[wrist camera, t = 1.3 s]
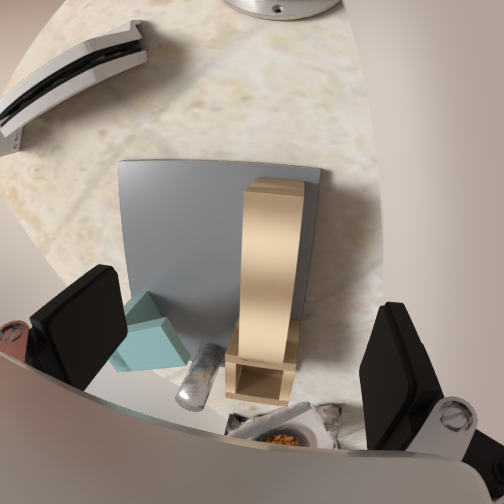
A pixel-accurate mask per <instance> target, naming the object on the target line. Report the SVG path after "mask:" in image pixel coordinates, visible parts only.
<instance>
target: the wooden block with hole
mask: <svg viewBox="0 0 504 504" xmlns="http://www.w3.org/2000/svg"><path fill="white" fill-rule="evenodd" d="M303 201H304V181H300V180H290V179H280V178H268V177H258V178H257V179H256V180H255V181H254V182H253V183H252V184H251V185H250V186H249V187H248V188H247V189H246V190H245V191H244V204H243V230H242V257H241V286H240V315H239V318H238V321H237V323H236V326H235V329H234V331H233V334H232V337H231V340H230V342H229V345H228V348H227V350H226V353H225V382H226V398H231V399H237V400H243V401H249V402H255V403H262V404H269V405H277V406H285V407H288V403H289V398H290V394H291V389H292V385H293V380H294V375H295V370H296V365H297V355H298V342H299V328H300V321H295V320H289V319H290V312H291V305H292V297H293V290H294V282H295V274H296V266H297V257H298V249H299V240H300V231H301V221H302V211H303Z"/></svg>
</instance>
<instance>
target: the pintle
mask: <svg viewBox="0 0 504 504" xmlns="http://www.w3.org/2000/svg"><path fill="white" fill-rule="evenodd" d="M223 356H224V354H223V351H222V349H221V348H220V347H219V346H217V345H215V344H213V343H204V344H202V345H201V346H200V347H199V349H198V351H197V353H196V356H195V358H194V360H193V362H192V364H191V366H190V368H189V370H188V372H187V374H186V376H185V378H184V380H183V382H182V384H181V386H180V389H179V391H178V393H177V395H176V397H175V399H176V402H177V403H178V404H179V405H180V406H181V407H183V408H185V409H186V410H189V411H193V412H199V411H202V410H203V409H204V406H205V404H206V401H207V398H208V396H209V393H210V390H211V388H212V385H213V383H214V380H215V377H216V375H217V372H218V369H219V367H220V364H221V361H222V359H223Z"/></svg>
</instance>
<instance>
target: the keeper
mask: <svg viewBox="0 0 504 504" xmlns="http://www.w3.org/2000/svg"><path fill="white" fill-rule="evenodd" d="M123 308H124V313H125V318H126V322H127V327H128V334H127V337H126V338H125V340H124V341H123V342H122V343H121V344H120V346H119V347H118V348H117V349H116V351H115V352H114V353H113V354H112V356H111V357H110V358H109V359H108V360H109V361H110V363H111V364H112V365H113V367H114V368H115V369H116V371H117V372H126V371H127V372H128V371H139V370H152V369H162V368H171V367H180V366H186V365H187V363H188V361H189V359H190V357H191V355H190V354H189V352H188V351H187V349H186V348H185V346H184V344H183V343H182V341H181V340H180V338H179V336H178V335H177V333H176V331H175V330H174V328H173V326H172V325H171V323H170V321H169V320H168V318H167V317H164V318H163V317H162V315H161V314H160V312H159V310H158V308H157V307H156V305H155V303H154V302H153V300H152V298H151V296H150V294H149V293H148V291H146V292H143V293H139V294H136V295H134V296H133V297H132V298H131V299H130V300H129V301H128V302H127V303H126V304H125V305H124V306H123Z"/></svg>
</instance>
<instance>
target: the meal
mask: <svg viewBox="0 0 504 504" xmlns="http://www.w3.org/2000/svg"><path fill="white" fill-rule="evenodd" d="M310 406H311V407H310ZM310 406H309V403H308V402H303V403H298V404H294V405H290V406H288V407H283V408H280V409H277V410H275V411H273V412H271V413H268V414H266V415H263V416H258V415H257V416H253V417H250V418H242V417H237V416H236V417H237V418H238V419H239V420H240V421H241V423H238V421H237V420H236V418H235V417H234V415H233V414H230V415H229V418H228V422H227V426H226V430H225V434H224V435H225V436H230V437H235V438H241V439H247V440H253V441H259V442H266V443H273V444H281V445H290V446H300V447H312V448H325V449H341V448H340V444H339V442H338V440H337V437H338V434H339V431H340V429H341V427H342V423H341V407H338V406H335V405H327V406H320V407H314V406H313V405H311V404H310ZM325 424H332V425H337V427H336V428H334V429H331V430H328V429H327V427H326V426H325ZM332 439H333V440H334V442H335V444H336V445H335V444H334V443H333V440H332Z"/></svg>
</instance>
